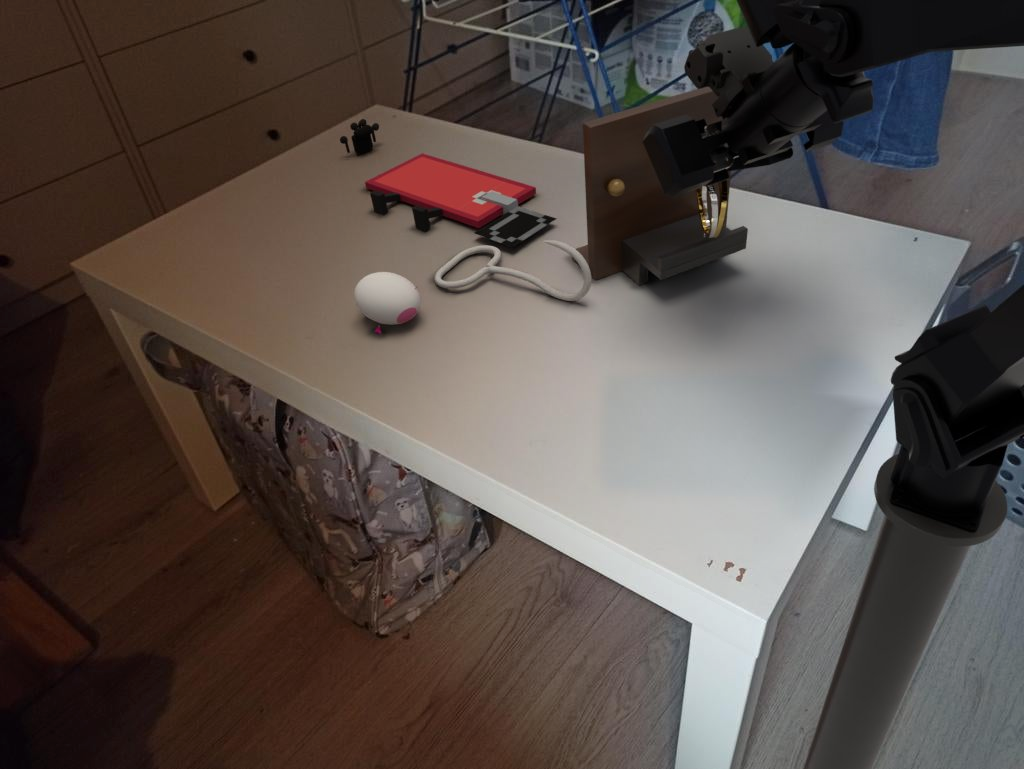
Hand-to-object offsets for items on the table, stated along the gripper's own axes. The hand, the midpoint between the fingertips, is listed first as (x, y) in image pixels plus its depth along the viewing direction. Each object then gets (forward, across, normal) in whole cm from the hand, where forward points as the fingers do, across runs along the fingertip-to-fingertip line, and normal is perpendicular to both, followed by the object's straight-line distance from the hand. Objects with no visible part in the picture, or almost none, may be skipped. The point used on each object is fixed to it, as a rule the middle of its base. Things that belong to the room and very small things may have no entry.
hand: (702, 172), depth 79 cm
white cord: (+17, +17, +2) cm, 24 cm away
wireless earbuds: (+50, +20, -32) cm, 62 cm away
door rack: (+13, 0, +5) cm, 14 cm away
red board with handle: (+32, +15, -14) cm, 38 cm away
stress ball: (+18, +31, 0) cm, 36 cm away
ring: (+4, 0, +6) cm, 7 cm away
